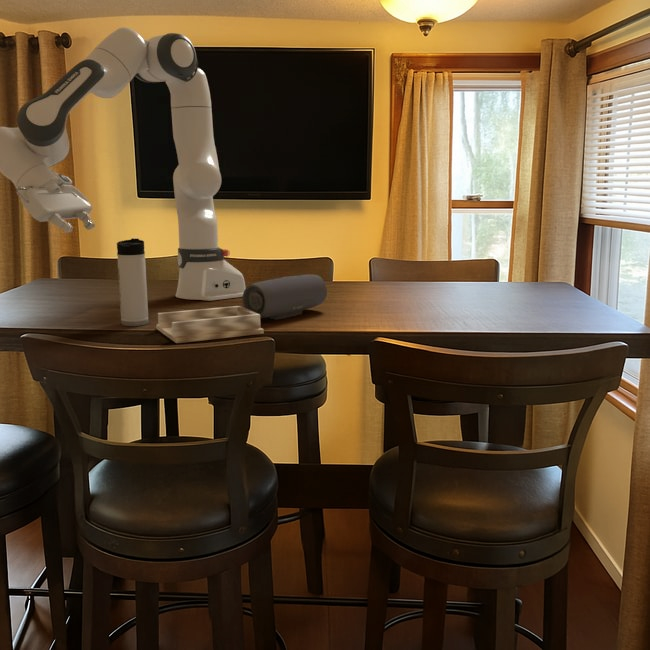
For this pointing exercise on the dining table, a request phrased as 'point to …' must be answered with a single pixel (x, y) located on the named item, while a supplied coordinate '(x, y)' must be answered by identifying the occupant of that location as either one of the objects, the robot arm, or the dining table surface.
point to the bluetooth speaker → (284, 296)
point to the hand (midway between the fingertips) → (81, 229)
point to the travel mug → (132, 282)
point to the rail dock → (209, 324)
